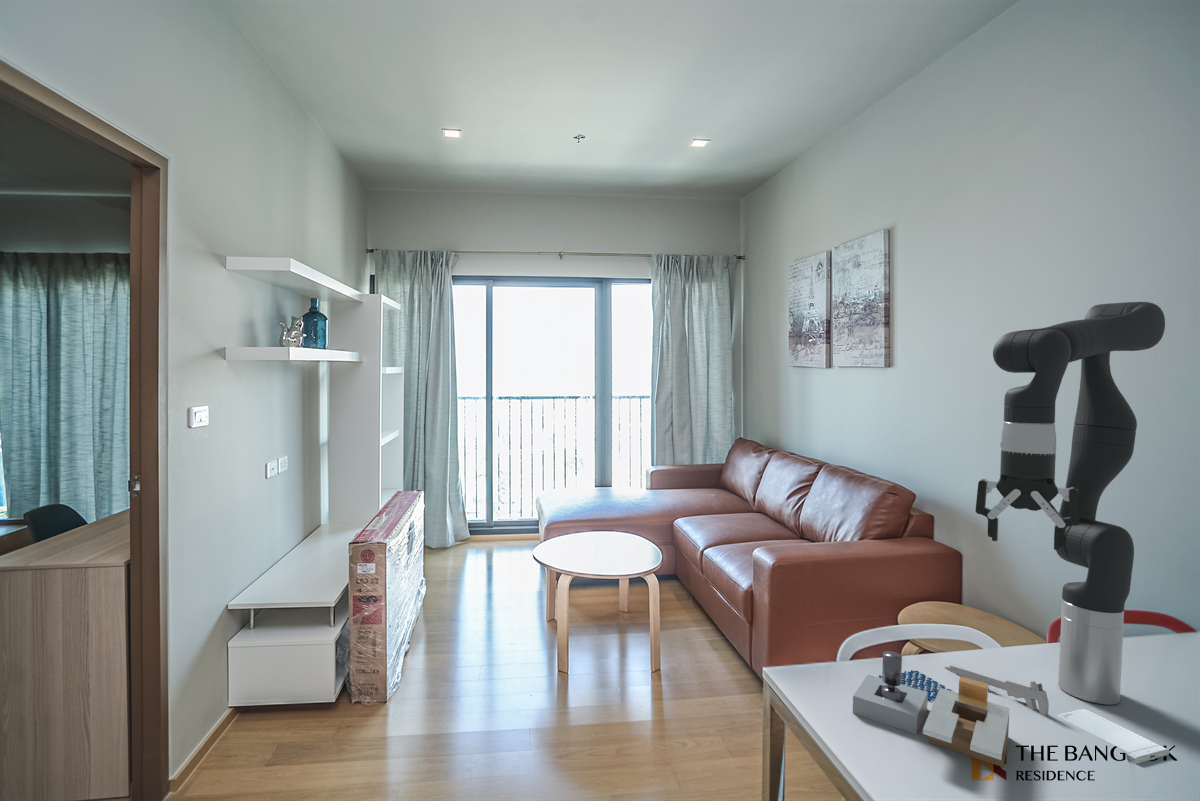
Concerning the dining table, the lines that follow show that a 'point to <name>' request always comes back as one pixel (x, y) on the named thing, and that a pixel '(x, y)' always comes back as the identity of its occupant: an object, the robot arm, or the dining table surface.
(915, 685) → the woven mat
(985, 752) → the plate
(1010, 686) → the caliper
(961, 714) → the socket block
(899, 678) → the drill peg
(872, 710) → the block
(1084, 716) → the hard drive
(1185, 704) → the dining table surface
